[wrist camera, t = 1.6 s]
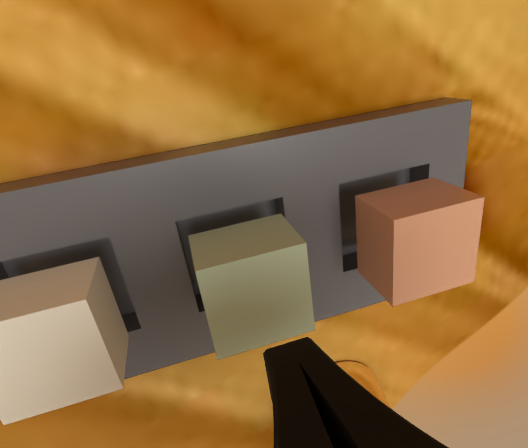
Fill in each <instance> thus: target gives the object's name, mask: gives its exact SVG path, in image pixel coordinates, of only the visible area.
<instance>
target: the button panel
mask: <svg viewBox="0 0 528 448" xmlns="http://www.w3.org/2000/svg"><path fill="white" fill-rule="evenodd" d="M471 106H472V100H466V99H456V98H442V99H436V100H431V101H426V102H421V103H416V104H411V105H405V106H400V107H395V108H390V109H385V110H380V111H374V112H369V113H364V114H359V115H354V116H348V117H343V118H338V119H333V120H328V121H323V122H317V123H312V124H307V125H302V126H297V127H292V128H286V129H281V130H276V131H271V132H266V133H261V134H255V135H250V136H245V137H240V138H235V139H229V140H224V141H219V142H214V143H209V144H204V145H198V146H193V147H188V148H183V149H178V150H173V151H167V152H162V153H157V154H152V155H147V156H142V157H136V158H131V159H126V160H121V161H116V162H111V163H105V164H100V165H95V166H90V167H85V168H79V169H74V170H69V171H64V172H59V173H54V174H48V175H43V176H38V177H33V178H28V179H23V180H17V181H12V182H7V183H2V184H0V280H3V279H7V278H11V277H16V276H20V275H24V274H28V273H32V272H37V271H41V270H45V269H49V268H53V267H58V266H62V265H66V264H70V263H75V262H79V261H83V260H87V259H91V258H96V257H99V258H100V260H101V263H102V266H103V268H104V271H105V274H106V276H107V279H108V282H109V284H110V287H111V290H112V292H113V295H114V298H115V300H116V303H117V305H118V308H119V311H120V313H121V316H122V319H123V321H124V324H125V327H126V329H127V332H128V335H129V339H128V348H127V358H126V368H125V377H124V379H127V378H130V377H133V376H137V375H140V374H143V373H147V372H150V371H153V370H157V369H160V368H163V367H167V366H170V365H173V364H177V363H180V362H183V361H187V360H190V359H193V358H197V357H200V356H203V355H206V354H210V353H213V352H215V348H214V344H213V340H212V336H211V332H210V328H209V325H208V321H207V317H206V313H205V309H204V305H203V301H202V297H201V293H200V289H199V285H198V281H197V277H196V273H195V269H194V264H193V259H192V253H191V248H190V243H189V238H188V235H192V234H196V233H201V232H205V231H209V230H213V229H217V228H222V227H226V226H230V225H234V224H238V223H243V222H247V221H251V220H255V219H260V218H264V217H268V216H272V215H276V214H282V215H283V217H284V218H285V219H286V220H287V221H288V222H289V223H290V225H291V226H292V227H293V228H294V229H295V230H296V231H297V233H298V234H299V235H300V236H301V237H302V238H303V240H304V241H305V242H306V244H307V254H308V264H309V274H310V284H311V294H312V304H313V314H314V322H316V321H319V320H323V319H326V318H329V317H333V316H336V315H339V314H343V313H346V312H349V311H353V310H356V309H359V308H363V307H366V306H369V305H373V304H376V303H379V302H383V301H386V299H385V298H384V297H383V296H382V295H381V294H380V293H379V292H378V291H377V290H376V289H375V288H374V287H373V286H372V285H371V284H370V283H369V282H368V281H367V280H366V279H365V278H364V277H363V276H362V275H361V274H360V273H359V272H358V265H357V236H356V207H355V196H356V195H360V194H365V193H369V192H373V191H377V190H381V189H386V188H390V187H394V186H398V185H402V184H407V183H411V182H415V181H419V180H423V179H428V178H432V177H434V178H436V179H439V180H442V181H444V182H447V183H449V184H452V185H455V186H457V187H460V188H462V189H463V188H464V178H465V168H466V157H467V147H468V137H469V127H470V116H471Z"/></svg>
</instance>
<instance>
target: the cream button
mask: <svg viewBox="0 0 528 448" xmlns="http://www.w3.org/2000/svg"><path fill="white" fill-rule="evenodd" d="M128 339H129V335H128V332H127V329H126V327H125V324H124V321H123V319H122V316H121V313H120V311H119V308H118V305H117V303H116V300H115V298H114V295H113V292H112V290H111V287H110V284H109V282H108V279H107V276H106V274H105V271H104V268H103V266H102V263H101V260H100V258H99V257H96V258H91V259H87V260H83V261H79V262H75V263H70V264H66V265H62V266H58V267H53V268H49V269H45V270H41V271H37V272H32V273H28V274H24V275H20V276H16V277H11V278H7V279H3V280H0V420H1V422H2V423H3V425H6V424H10V423H13V422H16V421H20V420H23V419H26V418H29V417H33V416H36V415H39V414H42V413H46V412H49V411H52V410H56V409H59V408H62V407H65V406H69V405H72V404H75V403H78V402H82V401H85V400H88V399H92V398H95V397H98V396H101V395H105V394H108V393H111V392H114V391H118V390H121V389H123V387H124V377H125V368H126V358H127V348H128Z"/></svg>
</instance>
